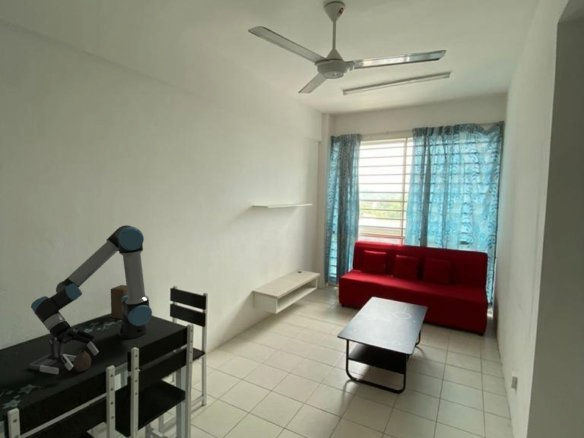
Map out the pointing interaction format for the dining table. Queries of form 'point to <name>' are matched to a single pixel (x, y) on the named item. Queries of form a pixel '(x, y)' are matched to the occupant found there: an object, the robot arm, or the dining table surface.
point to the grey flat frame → (42, 362)
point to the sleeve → (53, 369)
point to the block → (117, 300)
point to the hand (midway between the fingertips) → (84, 360)
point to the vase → (82, 361)
